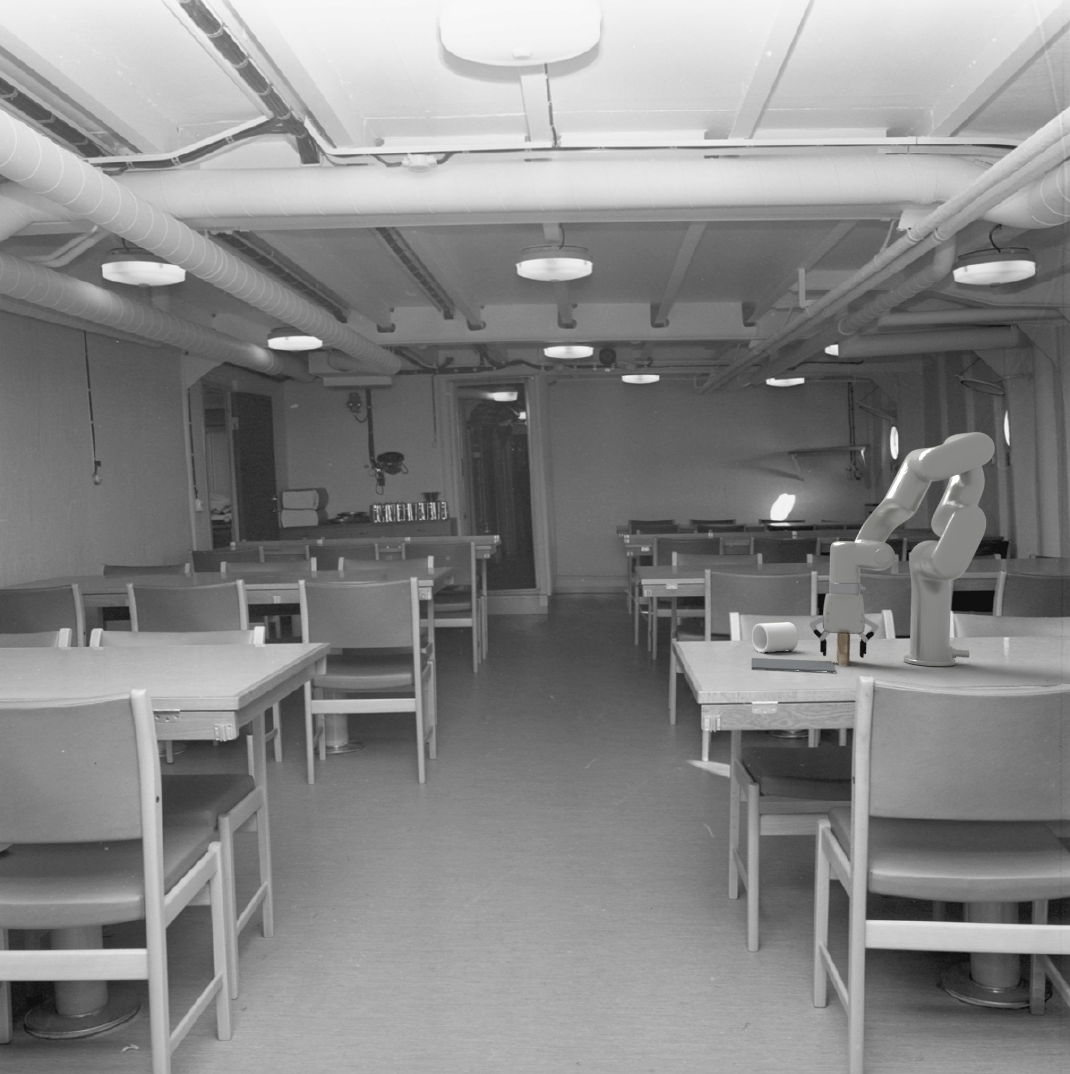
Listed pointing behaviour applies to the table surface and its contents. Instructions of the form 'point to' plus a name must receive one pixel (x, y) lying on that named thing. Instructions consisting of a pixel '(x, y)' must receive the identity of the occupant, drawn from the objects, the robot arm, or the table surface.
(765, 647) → the mug
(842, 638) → the tile
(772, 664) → the mat
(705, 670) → the table surface
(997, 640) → the table surface
